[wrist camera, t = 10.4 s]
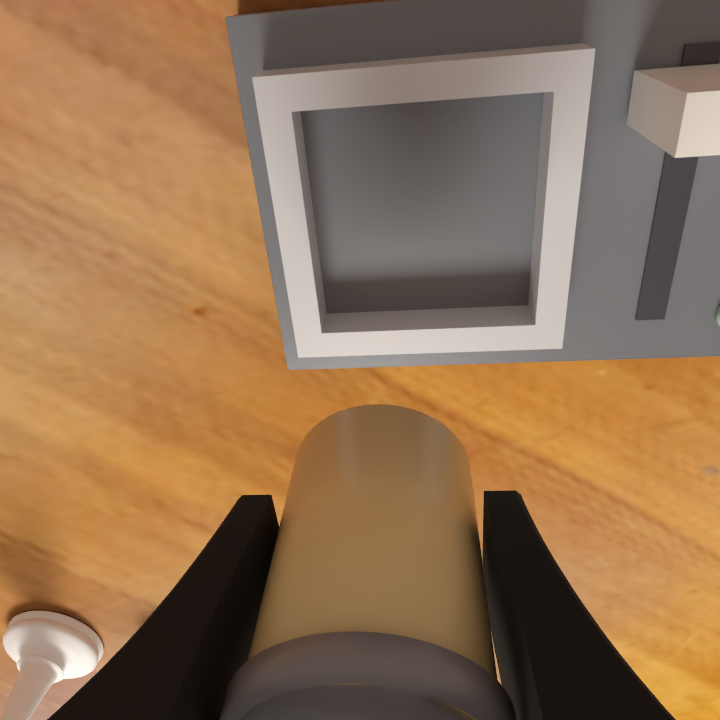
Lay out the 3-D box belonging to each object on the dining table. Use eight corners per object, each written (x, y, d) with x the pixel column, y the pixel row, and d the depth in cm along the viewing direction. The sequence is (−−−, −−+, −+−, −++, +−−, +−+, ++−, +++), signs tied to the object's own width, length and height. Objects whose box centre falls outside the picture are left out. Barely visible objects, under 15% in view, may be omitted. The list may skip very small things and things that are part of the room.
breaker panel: (833, -43, 14) (905, -47, 12) (727, 335, 19) (765, 377, 17) (237, 14, 15) (211, 20, 13) (293, 350, 21) (281, 391, 19)
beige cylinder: (480, 393, 12) (531, 677, 7) (478, 541, 15) (515, 836, 10) (271, 399, 13) (181, 672, 8) (300, 542, 15) (245, 825, 10)
